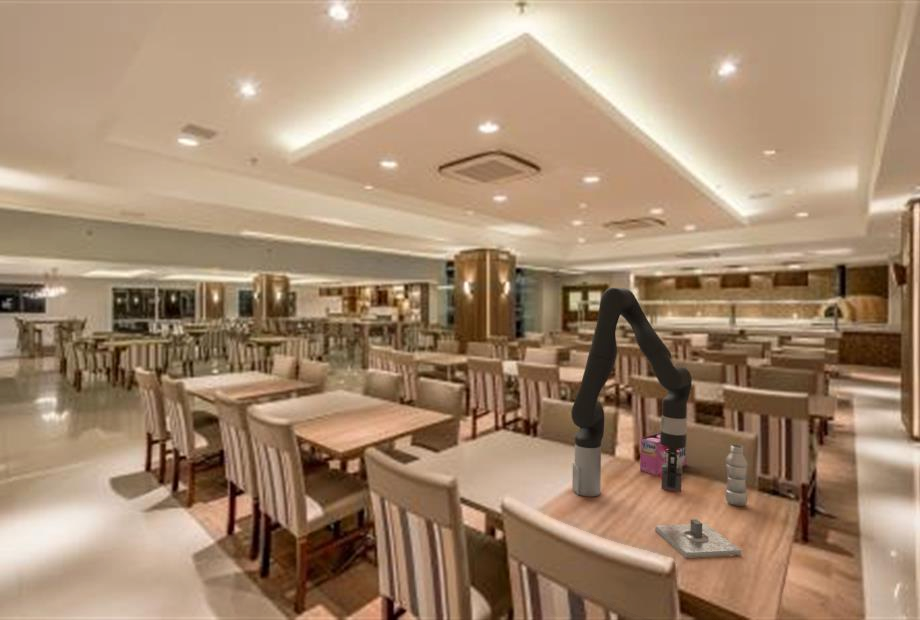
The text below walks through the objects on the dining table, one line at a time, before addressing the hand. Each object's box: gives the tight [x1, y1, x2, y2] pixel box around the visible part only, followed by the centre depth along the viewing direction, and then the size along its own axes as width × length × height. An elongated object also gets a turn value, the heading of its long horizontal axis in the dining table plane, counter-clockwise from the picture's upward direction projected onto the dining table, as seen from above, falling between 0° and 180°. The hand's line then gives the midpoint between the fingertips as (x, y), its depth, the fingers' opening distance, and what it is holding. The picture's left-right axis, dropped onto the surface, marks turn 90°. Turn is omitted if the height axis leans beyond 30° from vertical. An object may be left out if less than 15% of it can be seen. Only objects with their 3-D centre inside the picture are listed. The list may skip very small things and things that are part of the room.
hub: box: [654, 518, 742, 559], centre depth 138 cm, size 16×16×6 cm
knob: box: [660, 463, 683, 493], centre depth 151 cm, size 6×6×7 cm
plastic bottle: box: [724, 444, 748, 507], centre depth 164 cm, size 6×7×20 cm
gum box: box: [639, 432, 687, 476], centre depth 201 cm, size 24×8×14 cm, turn 126°
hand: (671, 483), depth 151 cm, fingers closed on knob, 6 cm apart
